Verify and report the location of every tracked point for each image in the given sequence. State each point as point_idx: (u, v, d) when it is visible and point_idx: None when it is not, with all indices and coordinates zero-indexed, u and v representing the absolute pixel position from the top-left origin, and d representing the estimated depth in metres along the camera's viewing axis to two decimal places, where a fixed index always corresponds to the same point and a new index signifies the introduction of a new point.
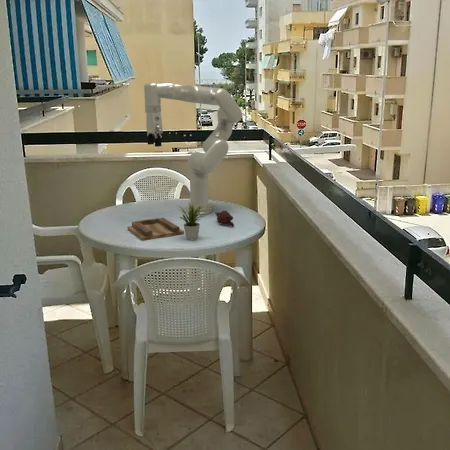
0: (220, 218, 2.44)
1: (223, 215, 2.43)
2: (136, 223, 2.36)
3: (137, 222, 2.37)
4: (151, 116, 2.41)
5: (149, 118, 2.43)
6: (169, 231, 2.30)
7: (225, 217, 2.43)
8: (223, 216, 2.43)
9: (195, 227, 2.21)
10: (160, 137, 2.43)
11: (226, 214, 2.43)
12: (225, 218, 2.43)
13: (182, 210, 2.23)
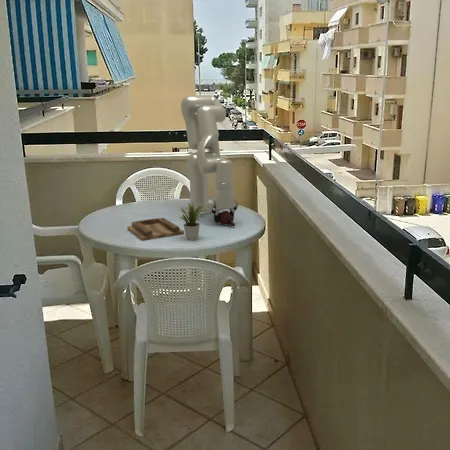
0: (221, 218, 2.43)
1: (224, 215, 2.42)
2: (136, 223, 2.36)
3: (137, 222, 2.37)
4: (232, 191, 2.42)
5: (228, 194, 2.42)
6: (169, 231, 2.30)
7: (226, 217, 2.42)
8: (224, 216, 2.42)
9: (195, 227, 2.21)
10: None
11: (227, 214, 2.43)
12: (226, 218, 2.42)
13: (182, 210, 2.23)
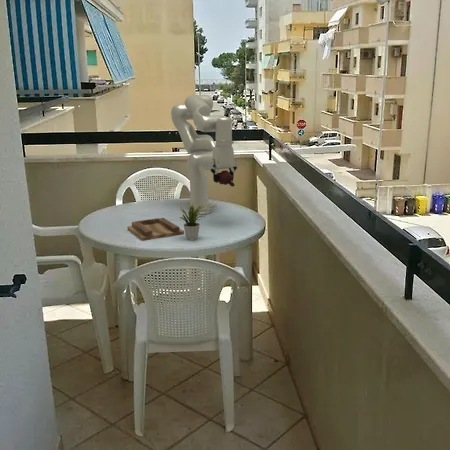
0: (220, 178, 2.38)
1: (223, 174, 2.37)
2: (136, 223, 2.36)
3: (137, 222, 2.37)
4: (232, 150, 2.37)
5: (228, 153, 2.36)
6: (169, 231, 2.30)
7: (225, 176, 2.37)
8: (223, 175, 2.37)
9: (195, 227, 2.21)
10: None
11: (226, 173, 2.38)
12: (225, 177, 2.37)
13: (182, 210, 2.23)
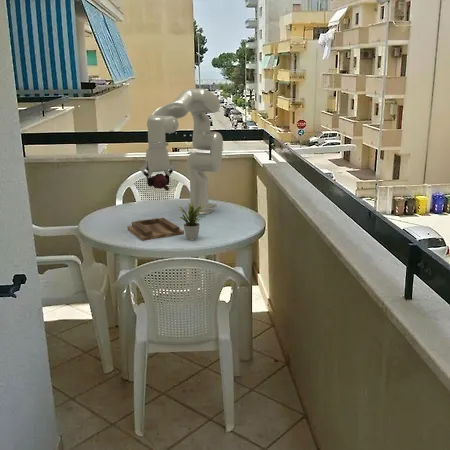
0: (154, 181, 2.25)
1: (157, 178, 2.24)
2: (136, 223, 2.36)
3: (137, 222, 2.37)
4: (166, 152, 2.24)
5: (162, 155, 2.23)
6: (169, 231, 2.30)
7: (159, 180, 2.24)
8: (157, 179, 2.24)
9: (195, 227, 2.21)
10: None
11: (160, 177, 2.25)
12: (159, 181, 2.24)
13: (182, 210, 2.23)
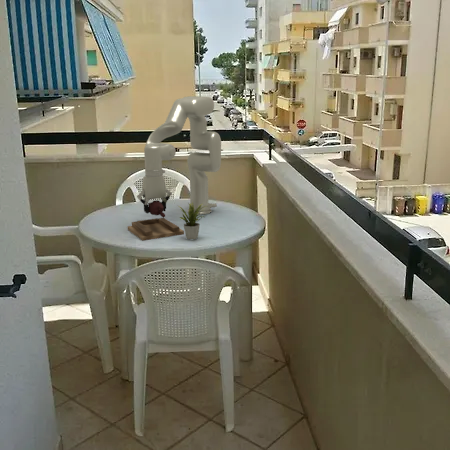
0: (151, 208, 2.27)
1: (154, 205, 2.27)
2: (136, 223, 2.36)
3: (137, 222, 2.37)
4: (162, 180, 2.27)
5: (158, 182, 2.26)
6: (169, 231, 2.30)
7: (156, 207, 2.26)
8: (154, 206, 2.27)
9: (195, 227, 2.21)
10: None
11: (157, 204, 2.27)
12: (156, 208, 2.26)
13: (182, 210, 2.23)
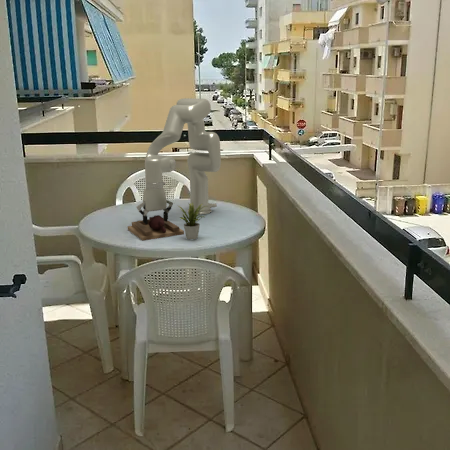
0: (152, 223, 2.29)
1: (155, 220, 2.29)
2: (136, 223, 2.36)
3: (137, 222, 2.37)
4: (163, 192, 2.28)
5: (159, 195, 2.27)
6: (169, 231, 2.30)
7: (157, 222, 2.28)
8: (154, 221, 2.29)
9: (195, 227, 2.21)
10: None
11: (158, 219, 2.29)
12: (157, 223, 2.28)
13: (182, 210, 2.23)
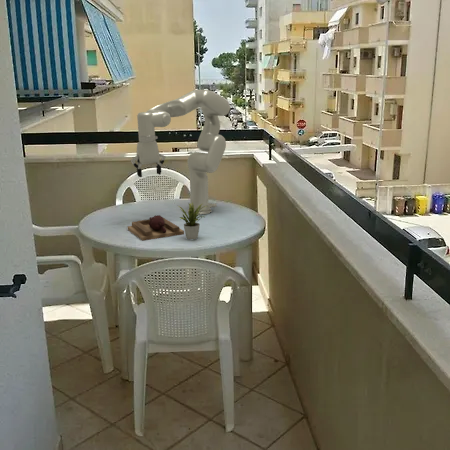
0: (152, 223, 2.29)
1: (155, 220, 2.29)
2: (136, 223, 2.36)
3: (137, 222, 2.37)
4: (155, 145, 2.37)
5: (152, 148, 2.36)
6: (169, 231, 2.30)
7: (157, 222, 2.28)
8: (155, 221, 2.29)
9: (195, 227, 2.21)
10: None
11: (158, 219, 2.29)
12: (157, 223, 2.28)
13: (182, 210, 2.23)
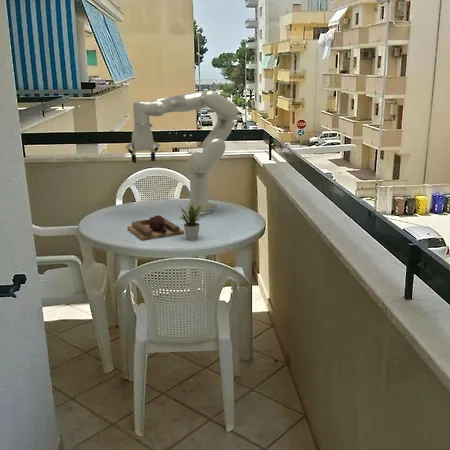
0: (152, 223, 2.29)
1: (155, 220, 2.29)
2: (136, 223, 2.36)
3: (137, 222, 2.37)
4: (150, 133, 2.49)
5: (146, 135, 2.48)
6: (169, 231, 2.30)
7: (157, 222, 2.28)
8: (155, 221, 2.29)
9: (195, 227, 2.21)
10: None
11: (158, 219, 2.29)
12: (157, 223, 2.28)
13: (182, 210, 2.23)
